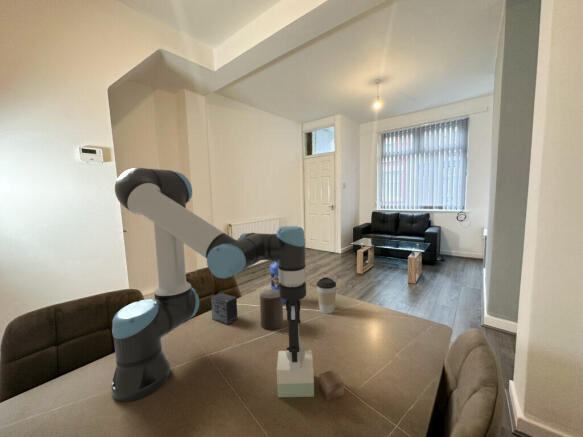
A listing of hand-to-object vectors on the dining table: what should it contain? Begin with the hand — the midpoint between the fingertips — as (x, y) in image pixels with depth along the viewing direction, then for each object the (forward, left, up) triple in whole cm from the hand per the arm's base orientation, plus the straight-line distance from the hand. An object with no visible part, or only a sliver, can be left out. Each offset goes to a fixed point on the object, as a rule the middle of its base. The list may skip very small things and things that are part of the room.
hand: (294, 357), depth 69 cm
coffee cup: (+15, +45, -9) cm, 48 cm away
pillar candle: (-10, +34, -9) cm, 37 cm away
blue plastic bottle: (-8, +57, -9) cm, 58 cm away
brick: (+10, -2, -9) cm, 14 cm away
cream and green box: (0, 0, -9) cm, 9 cm away
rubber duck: (0, 0, -1) cm, 1 cm away
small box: (-32, +39, -9) cm, 51 cm away
